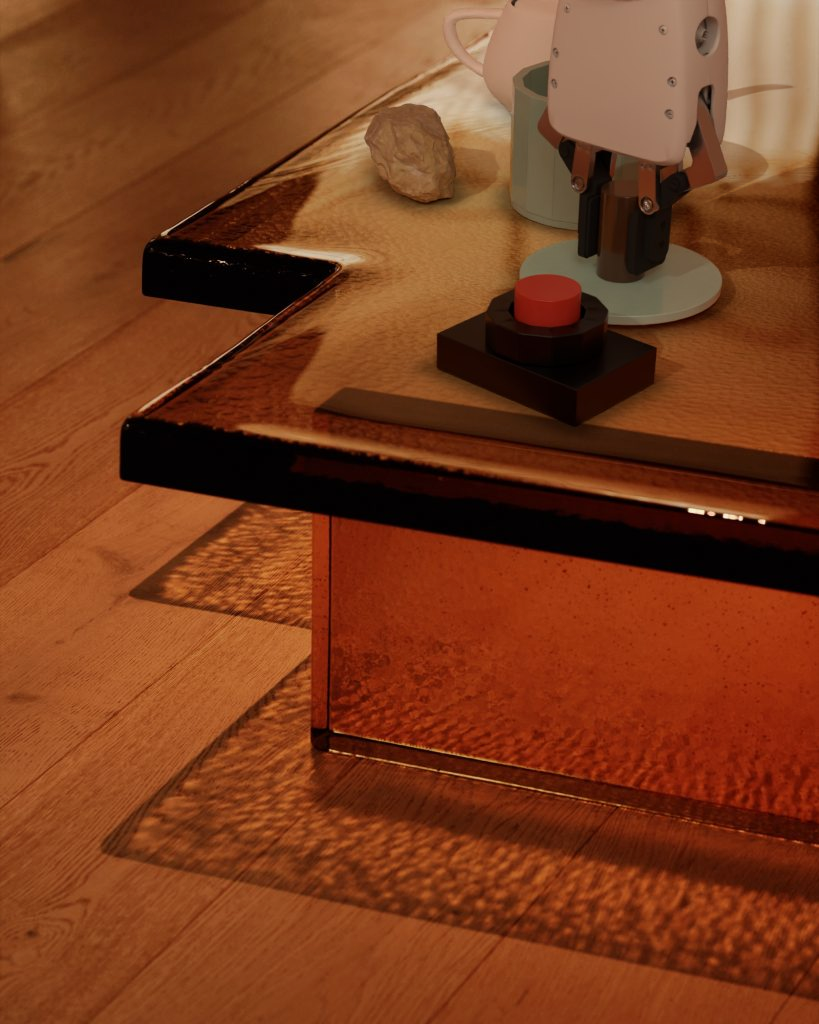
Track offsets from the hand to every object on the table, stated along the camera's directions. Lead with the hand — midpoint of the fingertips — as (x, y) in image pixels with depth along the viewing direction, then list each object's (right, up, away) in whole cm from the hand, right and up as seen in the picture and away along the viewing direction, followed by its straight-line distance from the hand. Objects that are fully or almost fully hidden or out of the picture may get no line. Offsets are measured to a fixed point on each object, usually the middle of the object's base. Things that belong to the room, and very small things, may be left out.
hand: (621, 257), depth 98 cm
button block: (-5, -8, -9) cm, 13 cm away
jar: (0, +6, +14) cm, 16 cm away
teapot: (0, +17, +32) cm, 36 cm away
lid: (0, -1, +1) cm, 2 cm away
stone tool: (-13, +8, +18) cm, 24 cm away
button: (-5, -5, -10) cm, 13 cm away
